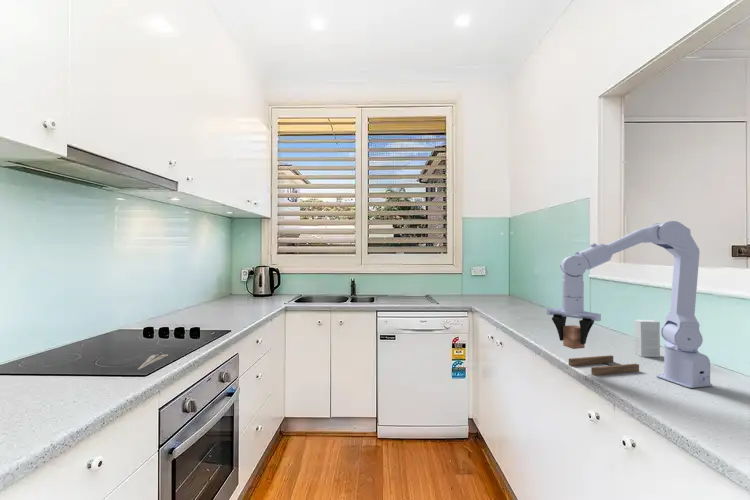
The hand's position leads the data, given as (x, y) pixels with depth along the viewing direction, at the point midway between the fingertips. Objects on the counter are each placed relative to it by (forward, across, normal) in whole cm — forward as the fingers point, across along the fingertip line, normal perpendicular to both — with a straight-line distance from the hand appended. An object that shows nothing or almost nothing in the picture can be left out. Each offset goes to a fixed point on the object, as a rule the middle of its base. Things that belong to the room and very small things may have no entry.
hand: (572, 341), depth 113 cm
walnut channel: (+9, -5, -10) cm, 14 cm away
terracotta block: (+2, 0, -1) cm, 2 cm away
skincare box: (+9, -11, -36) cm, 39 cm away
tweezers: (+9, +92, +92) cm, 130 cm away
